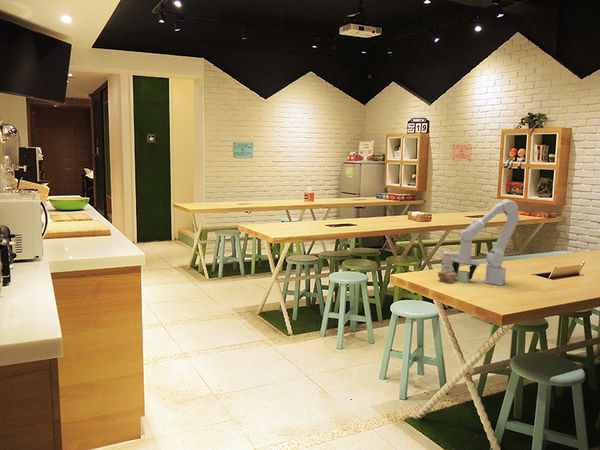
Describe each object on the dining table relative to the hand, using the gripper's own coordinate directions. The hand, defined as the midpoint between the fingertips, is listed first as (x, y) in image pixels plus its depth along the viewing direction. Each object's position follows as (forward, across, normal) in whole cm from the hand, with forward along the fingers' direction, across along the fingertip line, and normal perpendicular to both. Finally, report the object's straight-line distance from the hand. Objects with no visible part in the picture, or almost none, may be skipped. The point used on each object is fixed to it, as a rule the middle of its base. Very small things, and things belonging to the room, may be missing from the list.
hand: (463, 277), depth 268 cm
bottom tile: (+2, -6, -7) cm, 9 cm away
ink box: (+2, -12, +12) cm, 17 cm away
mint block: (+2, 0, 0) cm, 2 cm away
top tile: (0, -6, -7) cm, 9 cm away
